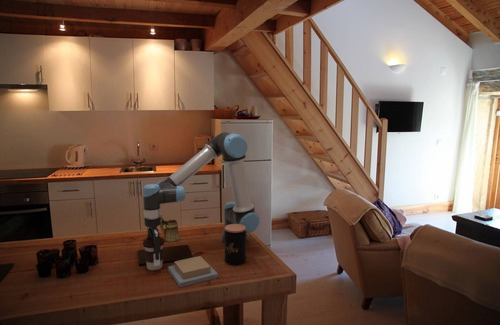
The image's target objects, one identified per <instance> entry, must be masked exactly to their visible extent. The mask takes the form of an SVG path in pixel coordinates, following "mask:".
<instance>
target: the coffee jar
mask: <svg viewBox="0 0 500 325" xmlns="http://www.w3.org/2000/svg"><path fill="white" fill-rule="evenodd" d="M224 228H225V230H226V231H225V243H224V261H225V262H226V264H228V265H231V266H239V265H243V264H244V263H245V261H246V258H247V242H246V234H247V233H246V231H245V230H246V226H244V225H242V224H229V225H227V226H225V225H224Z"/></svg>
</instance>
